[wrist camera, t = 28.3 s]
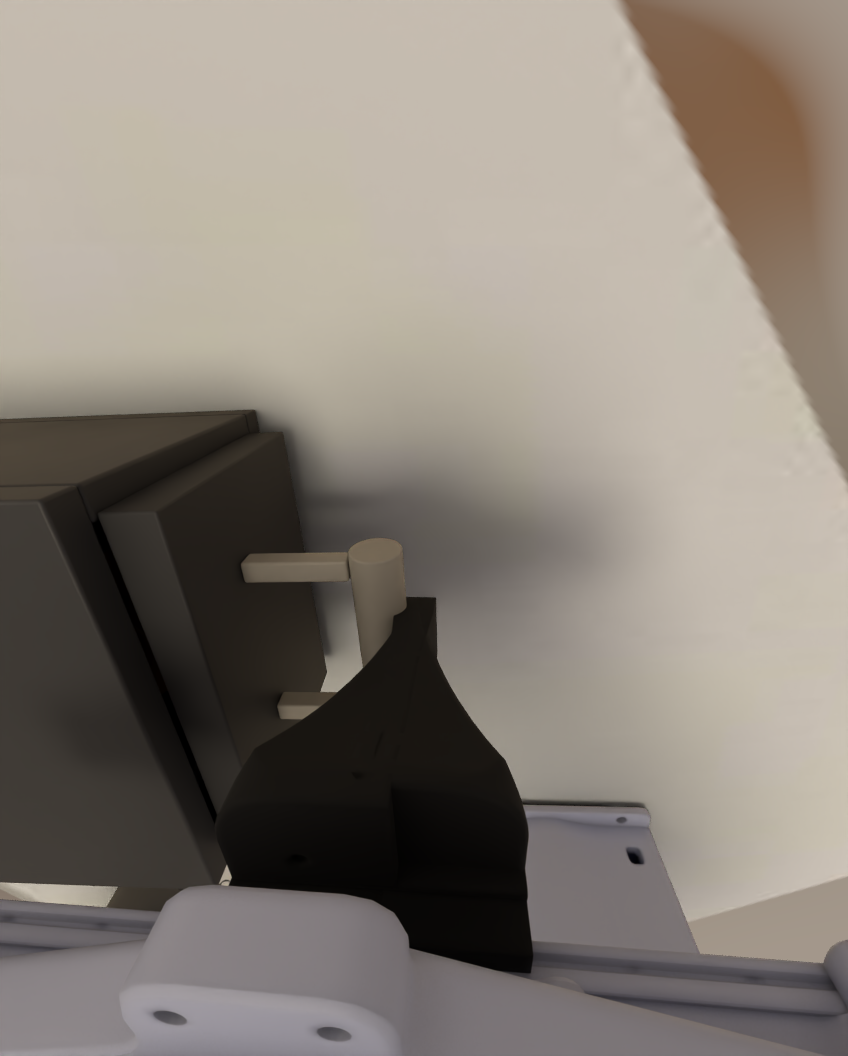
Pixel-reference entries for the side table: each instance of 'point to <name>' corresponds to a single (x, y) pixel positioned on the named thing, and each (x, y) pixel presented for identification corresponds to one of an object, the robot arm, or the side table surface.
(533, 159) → the side table surface
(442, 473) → the side table surface
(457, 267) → the side table surface
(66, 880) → the drawer box
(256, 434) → the black drawer
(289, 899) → the robot arm
